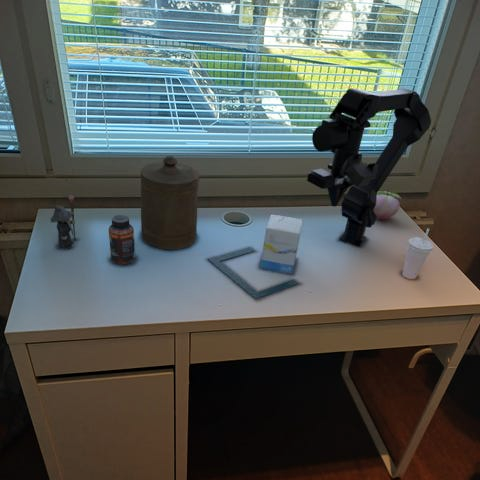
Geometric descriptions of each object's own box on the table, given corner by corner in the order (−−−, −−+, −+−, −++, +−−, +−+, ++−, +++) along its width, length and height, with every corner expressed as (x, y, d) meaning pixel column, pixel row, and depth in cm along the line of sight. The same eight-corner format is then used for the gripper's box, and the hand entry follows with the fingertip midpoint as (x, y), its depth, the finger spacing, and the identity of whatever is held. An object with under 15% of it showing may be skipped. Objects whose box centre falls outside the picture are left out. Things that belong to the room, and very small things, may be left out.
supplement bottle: (140, 258, 120) (138, 217, 113) (126, 268, 115) (123, 226, 108) (120, 251, 121) (117, 210, 114) (105, 261, 117) (102, 219, 110)
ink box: (292, 274, 120) (300, 233, 113) (259, 268, 121) (265, 227, 114) (295, 258, 127) (303, 218, 120) (264, 252, 128) (270, 213, 121)
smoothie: (408, 283, 122) (426, 235, 114) (392, 271, 127) (408, 223, 118) (426, 279, 125) (445, 231, 117) (409, 267, 129) (426, 220, 121)
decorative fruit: (392, 215, 156) (401, 186, 150) (396, 226, 149) (405, 196, 143) (364, 211, 156) (372, 182, 150) (366, 222, 150) (374, 192, 144)
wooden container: (203, 230, 135) (207, 153, 121) (185, 254, 123) (188, 172, 110) (154, 220, 137) (152, 143, 123) (132, 243, 125) (128, 160, 112)
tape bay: (249, 248, 129) (249, 247, 129) (298, 284, 117) (298, 283, 117) (208, 260, 122) (208, 259, 122) (255, 299, 110) (256, 298, 110)
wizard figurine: (75, 252, 119) (69, 207, 112) (52, 251, 118) (44, 206, 111) (80, 236, 125) (75, 193, 118) (58, 235, 125) (52, 192, 117)
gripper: (345, 162, 106) (330, 225, 115) (397, 152, 116) (379, 211, 125) (311, 146, 113) (300, 207, 122) (363, 138, 122) (349, 195, 132)
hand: (333, 205), depth 125 cm, fingers closed
